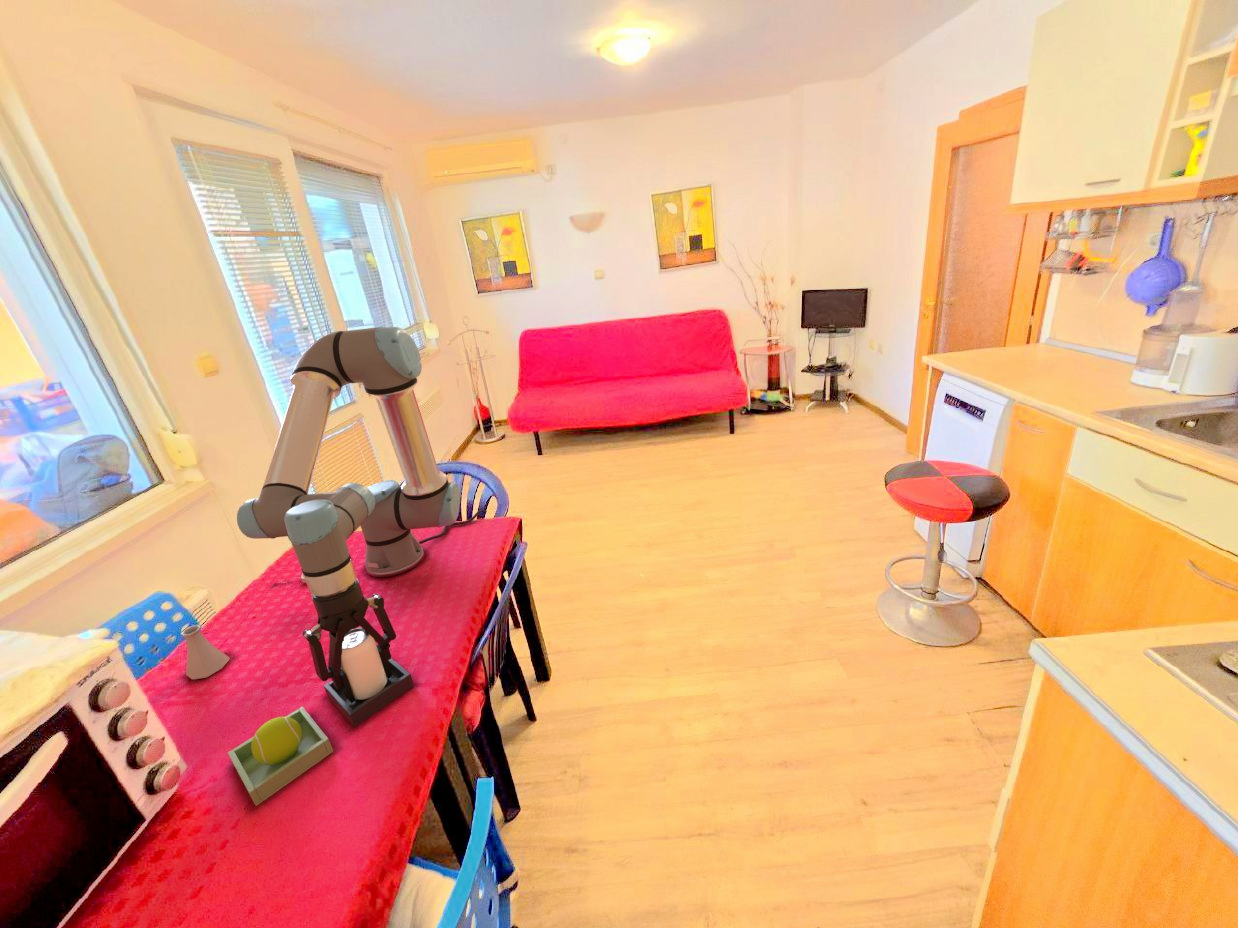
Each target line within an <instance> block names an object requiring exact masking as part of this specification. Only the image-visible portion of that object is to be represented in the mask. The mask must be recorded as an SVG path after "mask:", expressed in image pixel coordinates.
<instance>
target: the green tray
mask: <svg viewBox="0 0 1238 928" xmlns="http://www.w3.org/2000/svg"><path fill="white" fill-rule="evenodd" d="M285 717H290V718H292V719H294V720H296V721H297V722H298V723H299V725H300V727H301V730H302V740H301V743H300V745H299V747H298V749H297V750H296V752H295V753H294V754H293V755H292V756H291V757H290V758H288V759H287V760H285V761H283V762H281V763H278V764H274V765H266V764H262V763H260V762H258V761H257V760H256V759H255V758H254V756H253V754H252V750H251V744H252V739H253V737H254V736H252V737H250V738H249V739H247V740H246V741H244V742H242V743H241V744H238V746H236V747H234V748H232V749H231V750H229V751H227V755H228V757H229V759H230V761H231V763H232V765H233V767H234V768H235V770H236V773H237V774H238V776H239V778H240V780H241V781H242V783H243V784H244V788H245V789H246V791H247V792H248V794H249V796H250V798H251V801H252V802H253V804H254V805H255V807H257V806H259V805H260V804H261V803H263V802H264V801H266V800H267V799H268V798H270V797H271V796H273V795H274V794H276V793H277V792H278V791H280V790H281V789H283V788H284V787H285V786H287V785H288V784H290V783H291V782H293V781H294V780H296V778H298V777H300V776H301V775H303V774H304V773H305V772H307V771H308V770H309V769H311V768H312V767H314V766H315V765H317V764H318V763H320V762H321V761H322V760H324V759H325V758H326V757H328V756H329V755H331V754H333V753H334V749H333V747H332V744H331V741H330V739H329V738H328V736H327V735H326V733H324V731H323V730H322V729H321V727H320V726H319V725H318V723H316V721H315V720H314V719H313V718H312V716H311V715H310V714H309V712H308V711H307V710H306V709H305V707H304V706H301V707H298V708H297V709H295V710H294V711H292V712H291V713H289V714H288V715H286V716H285Z"/></svg>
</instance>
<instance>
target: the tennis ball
mask: <svg viewBox="0 0 1238 928" xmlns="http://www.w3.org/2000/svg"><path fill="white" fill-rule="evenodd" d="M252 737H253V739H252V744H251V750H252V754H253V756H254V758H255V759H256V760H257V761H258V762H260V763H262V764H266V765H274V764H278V763H281V762H283V761H285V760H287V759H288V758H290V757H291V756H292V755H293V754H294V753H295V752H296V750H297V749H298V747H299V745H300V743H301V740H302V730H301V727H300V725H299V723H298V722H297V721H296V720H294V719H292V718H290V717H286V716H278V717H274V718H271V719H269V720H268V721H266V722H264V723H263V724H262V725H261V726H260V727H259V728H258V729H257V730H256V732H255V733H254V735H253V736H252Z"/></svg>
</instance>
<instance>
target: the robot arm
mask: <svg viewBox="0 0 1238 928" xmlns="http://www.w3.org/2000/svg"><path fill="white" fill-rule="evenodd" d="M421 360H422V358H421V354H420V351H419V349H418V346H417V344H416V342H415V340H414V339H413V337H412V336H411V334H409V332H407V331H406V330H405V329H404V328H402V327H398V326H389V327H387V326H377V327H370V328H369V327H367V328H360V329H351V330H338V331H337V330H336V331H332V332H331V331H330V332H329V333H326V334H324V335H322V336H321V337H319V338H317V339H316V340H315V341H314V342H313V343H312V344H310V346H308V348H306V350H305V351H304V352H303V353H302V355H301V356H300V357H299V359H298V360H297V362H296V364H295V366H294V368H293V370H292V372H291V373H292V374H291V376H290V380H289V381H290V382H289V383H290V385H291V387H292V388H293V390H292V392H291V396H290V399H289V402H288V405H287V409H286V411H285V414H284V417H283V422H282V424H281V428H280V431H279V434H278V437H277V441H276V443H275V447H274V450H273V454H272V457H271V459H270V463H269V466H268V469H267V473H266V476H265V479H264V482H263V486H262V488H261V491H260V494H259V497H254V498H251V499H247V500H246V501H244V502H243V504H242V505H240V506H239V507H238V510H237V513H236V523H237V527H238V529H239V531H240V532H241V533H242V535H244V536H245V537H247V538H249V539H258V540H260V539H273V540H275V539H276V538H283V537H284V538H285V537H287V538H288V540H289V542H290V543H291V546H292V548H293V550H294V553H295V555H296V558H297V560H298V563H299V565H300V569H301V572H302V573H303V575H304V577H305V580H306V583H305V584H306V586H307V589H308V591H309V593H310V594H311V596H310V597H311V601H312V603H313V606H314V608H315V611H316V614H317V616H318V618H317V621H316V622H317V623H316V625H315V626H313V627H312V628H311V629H305V630H303V632H302V633H301V634H302V637H303V638H305V640H306V641H307V643H308V645H309V650H310V653H311V657H312V662H313V667H314V669H315V673H316V674H315V675H316V676H317V677H318V678H319V679H320V680H321V681H322V682H327V681H328V680H330V679H331V681H333V684H334V686H335V687H336V688H337V689H338V690H339V691H340V690H342V689H343V692H344V694H345V697H346V698H347V699H348V700H349V701H350V702H351V703H352V702H354V701H355V698H354V695H353V692H352V689H351V687H350V684H349V681H348V678H347V676H346V673H345V672H344V671H343V670H342V669H341V659H342V657H341V656H342V644H343V641H344V634H346V633H348V632H349V631H350V630H353V629H356V628H363V629H364V630H365V631H366V632H367V633H369V634H370V635H371V636H372V637H373V638H374V640H375V643H376V646H377V649H378V652H379V655H380V658H381V661H382V664H383V668H384V671H385V674H386V677H387V678H388V679H389V678H390V677H392V674H391V671H390V668H389V665H388V660H389V659H391V658H392V654H391V650H390V648H391V644H390V643H391V641H395V640H396V639H397V633H396V632H395V629H394V627H393V625H392V622H391V620H390V618H389V616H388V614H387V611H386V609H385V598H384V597H382V596H381V595H380V594H378V593H373V594H372V596H371V597H368V598H366V597H365V596H364V593H363V590H362V587H361V584H360V580H359V579H358V574H357V571H356V568H355V565H354V563H353V559H352V557H351V553H350V551H349V546H348V543H347V540H348V539H350V538H351V536H352V535H353V534H354V533H355V532H356V531H357V530H358V529H359V528H360V529H361V532H362V534H363V538H364V542H365V545H366V547H365V557H364V558H365V559H364V560H365V561H364V567H365V570H366V573H367V574H368V575H369V576H371V577H375V578H389V577H393V576H394V577H395V576H397V575H400V574H403V573H406V572H408V571H410V570H412V569H414V568H415V567H417V566H418V565H419V564H420V563H421V562H422V561H423V560H424V557H425V551H424V549H423V546H422V544H425V543H427V542H429V541H432V540H436V539H439V538H441V537H443V536H444V535H445V534H446V532H447V529H448V528H450V527H453V526H460V525H461V526H462V525H467V524H469V523H471V522H472V521H474V520H475V519H476V518H477V517H478V515H480V514H481V513H484V514H486V513H487V512H488V511H487V510H485V509H480V510H478V511H477V512H476V513H475V514H474V515H473V516H472V517H471V518H469V519H467V520H464V521H457V519H458V517H459V513H460V507H461V505H460V504H461V494H460V493H461V492H460V487H459V485H458V483H457V482H453V481H450V482H449V480H448V476H447V475H446V473H445V472H444V471H440V470H439V468H438V464H437V461H436V458H435V454H434V452H433V448H432V445H431V442H430V439H429V436H428V432H427V429H426V426H425V423H424V420H423V417H422V413H421V411H420V407H419V403H418V400H417V396H416V394H415V391H414V388H415V387H416V385H417V384H418V377H420V375H421V373H422V361H421ZM348 384H362V386H363V388H364V391H365V394H367V395H369V396H371V397H372V398H375V401H376V403H377V407H378V409H379V412H380V415H381V417H382V420H383V424H384V426H385V428H386V432H387V435H388V438H389V440H390V443H391V446H392V449H393V451H394V455H395V457H396V460H397V462H398V465H399V468H400V471H401V474H402V477H403V479H404V481H403V482H402V484H401V485H400V483H399V482H398V481H397V480H393V479H389V480H384V481H379V482H376V483H374V484H370V485H369V486H365V485H363V484H360V483H355V482H350V483H346V484H344V485H343V486H341V487H338V488H337V489H335V491H331V492H330V491H329V492H320V493H319V492H318V493H309V492H310V488H311V484H312V481H313V476H314V473H315V469H316V465H317V461H318V457H319V454H320V451H321V446H322V444H323V439H324V436H325V432H326V427H327V423H328V420H329V417H330V414H331V409H332V405H333V401H334V400H335V399H337V398H338V397H339V396H340V394H341V391H342V388H343V387H344V386H346V385H348ZM456 521H457V522H456ZM442 527H443V529H442V532H441V533H439V534H437V535H433V536H430V537H427V538H424V539H422V540H420V541H419V540H418V539H417V538H416V536H415V535H414V533H413V532H412V530H417V529H419V530H421V529H430V528H442ZM368 608H371V609H372V610H373V613H374V615H375V617H376V619H377V621H378V623H379V626H380V628H381V629H382V632H383V635H381V634H380V633H379V632H378V631H377V629H376V628H374V626H372V624H371V623H370V622H369V621H368V620H367V619H366V618H365V616H366V613H367V611H368ZM322 631H326V632H328V636H329V645H328V646H329V647H328V650H329V651H328V660H327V661H328V662H326V658H325V654H324V649H323V646H322V643H321V641H320V640H321V639H322ZM327 663H328V664H327Z"/></svg>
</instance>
